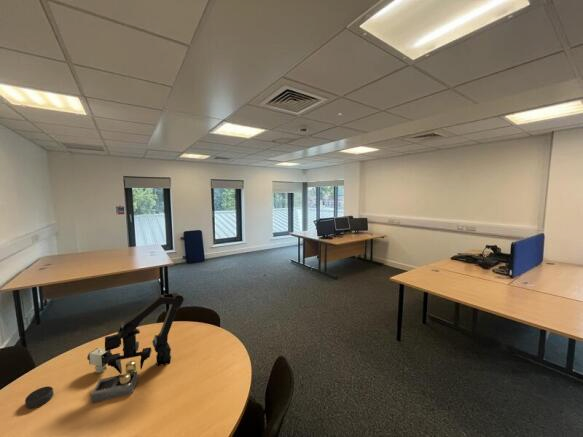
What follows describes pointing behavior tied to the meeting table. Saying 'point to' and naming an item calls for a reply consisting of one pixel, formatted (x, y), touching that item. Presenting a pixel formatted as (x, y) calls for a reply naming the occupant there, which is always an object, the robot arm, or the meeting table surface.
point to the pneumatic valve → (99, 359)
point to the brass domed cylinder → (131, 367)
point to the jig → (113, 388)
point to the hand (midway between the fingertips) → (131, 371)
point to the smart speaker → (39, 397)
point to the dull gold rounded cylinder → (125, 379)
